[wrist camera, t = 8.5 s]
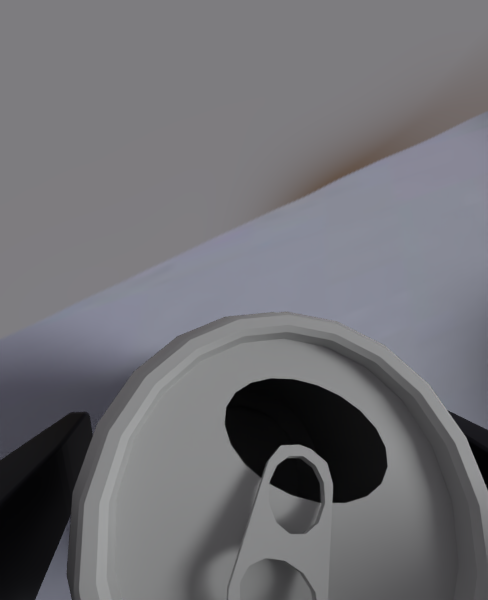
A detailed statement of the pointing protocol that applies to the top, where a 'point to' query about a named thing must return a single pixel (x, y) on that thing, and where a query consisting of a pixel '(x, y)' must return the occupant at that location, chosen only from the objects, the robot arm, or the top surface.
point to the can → (278, 475)
